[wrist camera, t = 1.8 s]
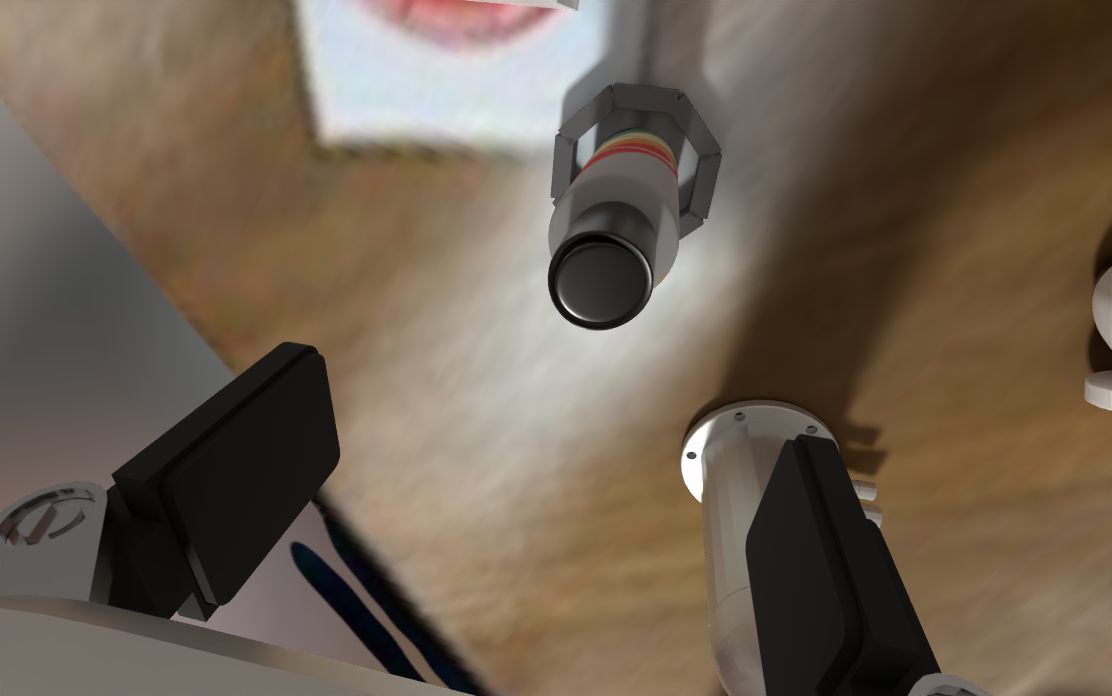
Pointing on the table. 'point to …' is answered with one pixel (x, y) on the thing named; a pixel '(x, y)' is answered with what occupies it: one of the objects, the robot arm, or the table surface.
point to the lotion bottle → (615, 231)
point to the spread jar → (1108, 314)
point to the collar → (648, 101)
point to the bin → (539, 3)
